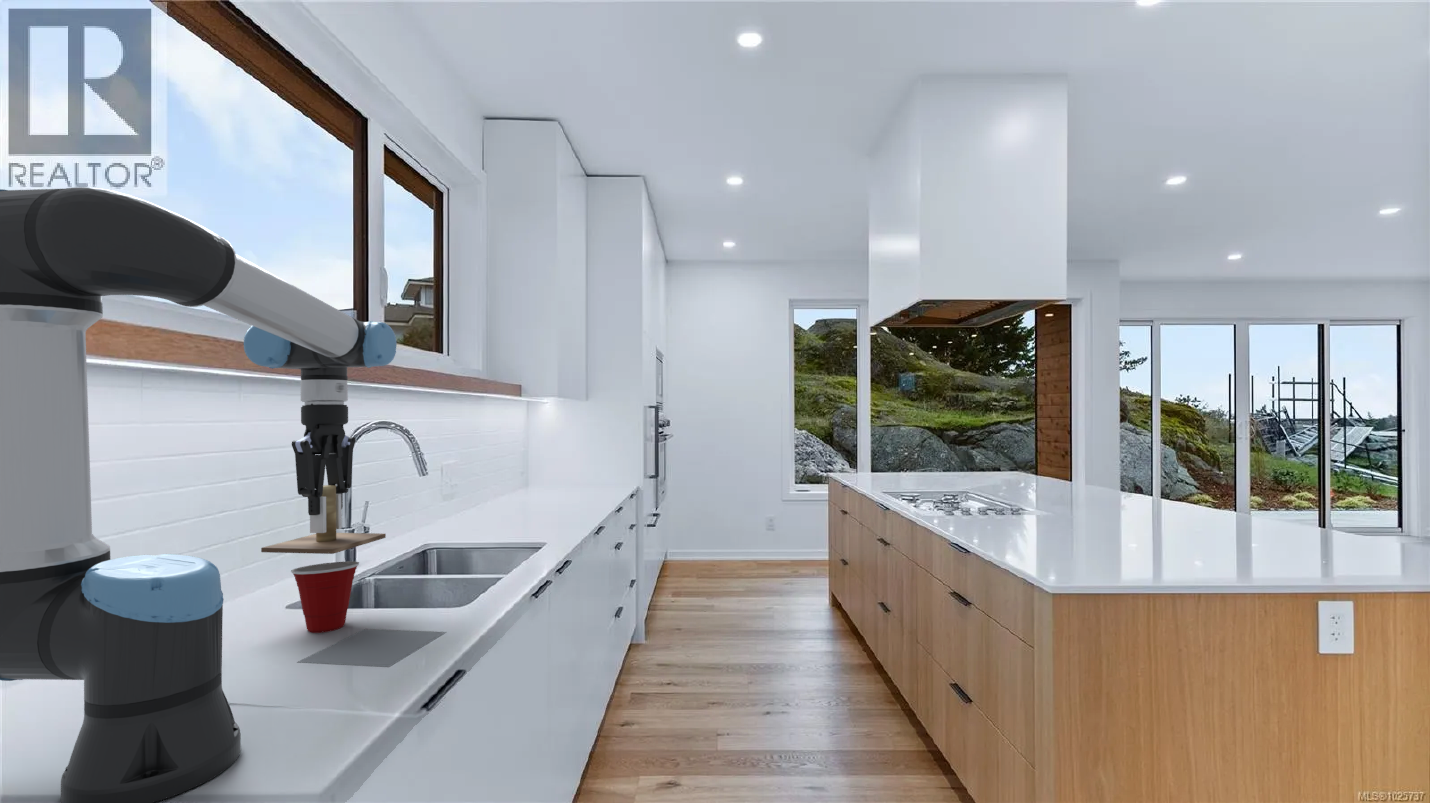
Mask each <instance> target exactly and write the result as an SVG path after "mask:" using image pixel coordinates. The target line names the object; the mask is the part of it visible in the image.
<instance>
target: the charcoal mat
mask: <svg viewBox="0 0 1430 803" xmlns="http://www.w3.org/2000/svg"><path fill="white" fill-rule="evenodd" d="M446 633H447V631H433V630H432V631H429V630H410V629H409V630H407V629H406V630H405V629H381V628H364V629H362V630H360V631H358V632H356V633H353V634H351V635H350V636H348V637H346V638H344V639H342V640H339V641H338V642H336V643H334V644H331V645H329V646H326V647H325V648H323V649H321V650H319V651H317V652H315V653H313V654H311V655H309V656H308V655H307V657H304V658H302V659H301V660H298V661H296V663H300V664H319V665H320V664H321V665H335V666H336V665H338V666H357V667H358V666H360V667H375V668H376V667H379V668H390V667H391V666H393V665H395V664H396V663H399V662H400V661H402V660H403V659H405V658H406V657H408V656H410V655H411V654H413V653H415V652H417V651H418V650H419V649H423V647H425V646H426V645H428V644H430V643H431V642H433V641H434V640H437V638H440V637H441V636H443V635H444V634H446Z"/></svg>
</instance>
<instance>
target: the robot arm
mask: <svg viewBox="0 0 1430 803" xmlns="http://www.w3.org/2000/svg"><path fill="white" fill-rule="evenodd" d="M104 296H138V297H139V296H142V297H149V298H150V297H151V298H158V299H162V300H166V301H170V302H172V303H175V304H177V305H179V306H183V307H186V308H187V307H188V308H197V307H203V306H204V307H206V308H209V309H212V310H214V311H216V312H219V313H221V314H224V315H226V316H228V317H231V318H233V319H235V320H238V321H240V322H243V323H245V324H246V325H247V324H248V325H250V327H249V328H248V329H247V331H246V333H245V334H244V336H243V350H244V353H245V355H246V356H247V359H249V360H250V361H251V362H252V363H253V364H255V365H257V366H259V367H265V368H270V369H272V370H273V369H287V370H288V369H289V370H300V402H302V403H304V404H303V405H302V406H301V407H300V423H301V425H303V426H305V430H304V433H303V437H302V438H300V439H299V440H292V441H291V447H292V449H293V452H294V458H295V471H296V486H297V487H296V488H297V494H298V495H300V496H302V498H307V510H308V512H307V514H308V515H309V534H316V533H326V497H321V496H322V493H323V486H324V481H325V472H326V479H327V485H336V530H340V529H343V528H342V527H343V526H342V522H343V521H342V511H343V506H344V505H343V499H344V498H343V496H344V495H343V494H347V493H348V492H349V489H350V488H352V482H353V481H352V479H353V459H354V458H353V457H354V456H353V455H354V447H355V444H356V438H355V437H354V436H351V437H350V436H348V435H346V431H345V429H344V428H345V427H344V425H347V424H348V423H349V406H348V405H347V404H345V402H348V400H349V398H348V397H349V395H348V390H349V389H348V380H349V379H348V378H349V377H348V368H367V369H370V368H372V367H384V366H387V365H389V364H391V363H392V362H393V360H394V358H395V357H396V353H397V345H398V344H397V337H396V334H395V331H394V329H392V327H391V326H390V325H389V324H388V323H386V322H383V321H382V322H381V321H373V320H369V321H360V320H359V319H357V318H354V317H352V316H350V315H349V314H346V313H345V312H343V311H341V310H340V309H337V308H335V307H334V306H332V305H330V304H328V303H326V302H324V301H323V300H321V299H320V298H317V297H315V296H313V295H312V294H310V293H307V291H304V290H302V289H300V288H299V287H297V286H295V285H294V284H291V283H289V282H288V281H286V280H285V279H283V278H280V277H278V276H277V275H275V274H273V273H271V272H270V271H268V270H266V269H264V268H262V267H260V266H259V265H257V264H255V263H253V262H252V261H249V260H247V259H245V258H244V257H242V256H240V255H238V254H236V251H235V249H234V247H233V245H232V244H231V243H230V242H229V241H228V240H227V239H226V238H224V237H223V236H221V235H219V234H217V233H216V232H214V231H212V230H210V229H208V228H206V227H205V226H203V225H201V224H199V223H197V222H195V221H194V220H191V219H189V218H187V217H185V216H182V215H181V214H178V213H177V212H174V211H171V210H168V209H166V208H165V207H162V206H160V205H157V204H155V203H153V202H150V201H147V200H145V199H142V198H139V197H136V196H133V195H130V194H127V193H122V192H119V191H116V190H112V189H105V188H99V187H92V186H91V187H88V186H86V187H84V186H83V187H80V186H79V187H66V188H41V189H40V188H39V189H35V188H34V189H9V190H8V189H5V188H4V189H1V188H0V681H3V682H5V681H6V682H8V681H9V682H11V681H18V680H19V681H23V680H42V681H43V680H45V681H46V680H51V681H52V680H58V681H60V680H61V681H62V680H64V681H65V680H66V681H68V680H69V681H83V700H84V705H83V715H84V716H83V722H82V723H81V724H82V725H81V727H80V730H79V732H78V735H77V737H76V741H75V744H74V746H73V749H72V753H71V756H70V758H69V761H68V764H67V766H66V767H65V770H64V771H63V773H62V775H61V779H60V803H156V802H159V801H162V800H166V799H168V798H171V797H175V796H177V795H179V794H182V793H184V792H186V791H189V790H192V789H194V788H197V787H198V786H200V785H203V783H206V782H208V781H210V780H211V779H213V778H216V777H217V776H218V775H220V774H221V773H223V772H224V771H226V770H227V769H228V768H230V767H231V766H232V765H233V764H234V763H235V762H236V761H237V759H238V758H239V756H240V754H241V751H242V749H241V747H242V746H241V742H242V741H241V740H242V738H241V730H240V727H239V725H238V723H237V722H236V721H235V718H234V714H233V711H232V709H231V706H230V704H229V702H228V699H227V696H226V694H225V692H224V690H223V680H222V679H223V678H222V677H223V675H222V674H223V670H222V669H223V613H224V612H223V611H224V609H223V606H224V593H223V590H222V582H221V574H220V571H219V569H218V567H217V565H215V564H214V563H213V562H211V561H210V560H208V559H205V558H202V557H198V556H193V555H187V554H186V555H185V554H171V553H170V554H167V553H166V554H164V553H163V554H157V555H156V554H155V555H151V554H141V555H140V554H139V555H130V556H123V557H117V558H112V559H111V546H110V545H109V544H107V543H106V542H104V541H102V540H100V538H97V537H95V535H94V533H93V526H92V524H93V523H92V520H93V519H92V496H91V495H92V494H91V493H92V491H91V490H92V489H91V463H90V462H91V461H90V434H89V432H90V431H89V430H90V428H89V400H88V399H89V398H88V373H87V372H88V368H87V338H86V336H87V335H86V334H87V331H88V329H89V328H91V326H93V325H94V324H96V323H97V322H98V321H100V320H101V319H103V316H104V315H103V313H104V311H103V307H104V306H103V297H104Z"/></svg>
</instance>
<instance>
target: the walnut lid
mask: <svg viewBox="0 0 1430 803" xmlns="http://www.w3.org/2000/svg"><path fill="white" fill-rule="evenodd" d="M321 497H326V533H312V534H309V535H306V536H302V537H299V538H297V537H296V538H294V539H290V540H286V541H282V542H278V543H275V544H271V545H267V546H263V547H261V548H260V549H261V553H272V554H273V553H277V554H320V555H321V554H323V555H328V554H329V555H333V554H337V553H340V552H344V551H347V550H350V549H353V548H358V547H359V546H364V545H366V544H371V543H373V542H376V541H379V540H382V539H386V537H387V536H386V533H381V532H380V533H375V532H374V533H372V532H371V533H370V532H369V533H367V532H366V533H365V532H364V533H363V532H362V533H361V532H357V533H356V532H337V529H336V485H328V484H327V485H326V484H325V485H324V484H323V493H322V496H321Z"/></svg>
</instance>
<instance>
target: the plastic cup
mask: <svg viewBox="0 0 1430 803" xmlns="http://www.w3.org/2000/svg"><path fill="white" fill-rule="evenodd" d="M359 565H360V562H358V561H356V560H355V561H351V560H350V561H349V560H347V561H334V562H325V563H317V564H310V565H304V566H299V567H296V568H293V569H291V570H290V573H291V574H293V576H294V579H295V582H296V586H297V589H298V594H299V599H300V603H301V608H302V614H303V616H304V619H305V620H304V621H305V626H306V627H305V628H306V630H307V631H308V633H313V634H321V633H322V634H323V633H329V632H333V631H336V630H337V631H338V630H340V629H342V628H344V626H345V624H346V620H347V614H348V609H349V605H350V600H351V599H350V598H351V594H352V587H353V582H354V579H355V574H356V570H357V568H358V566H359Z"/></svg>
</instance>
